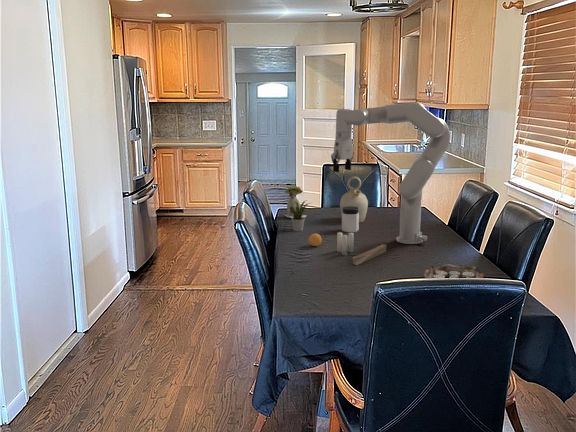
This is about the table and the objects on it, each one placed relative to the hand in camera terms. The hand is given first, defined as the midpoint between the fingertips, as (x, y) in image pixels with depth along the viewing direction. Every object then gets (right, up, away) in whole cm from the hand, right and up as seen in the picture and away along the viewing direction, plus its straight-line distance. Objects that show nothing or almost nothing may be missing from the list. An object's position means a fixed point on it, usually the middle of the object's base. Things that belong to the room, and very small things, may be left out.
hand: (342, 170), depth 257 cm
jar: (+6, -30, +18) cm, 36 cm away
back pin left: (-1, -39, -22) cm, 45 cm away
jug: (+11, -25, +40) cm, 48 cm away
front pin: (-3, -38, -18) cm, 42 cm away
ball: (-14, -33, -10) cm, 37 cm away
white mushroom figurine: (-22, -23, +49) cm, 59 cm away
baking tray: (+36, -48, -60) cm, 84 cm away
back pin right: (+2, -38, -19) cm, 42 cm away
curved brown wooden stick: (+9, -40, -28) cm, 50 cm away
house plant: (-20, -29, +22) cm, 42 cm away
